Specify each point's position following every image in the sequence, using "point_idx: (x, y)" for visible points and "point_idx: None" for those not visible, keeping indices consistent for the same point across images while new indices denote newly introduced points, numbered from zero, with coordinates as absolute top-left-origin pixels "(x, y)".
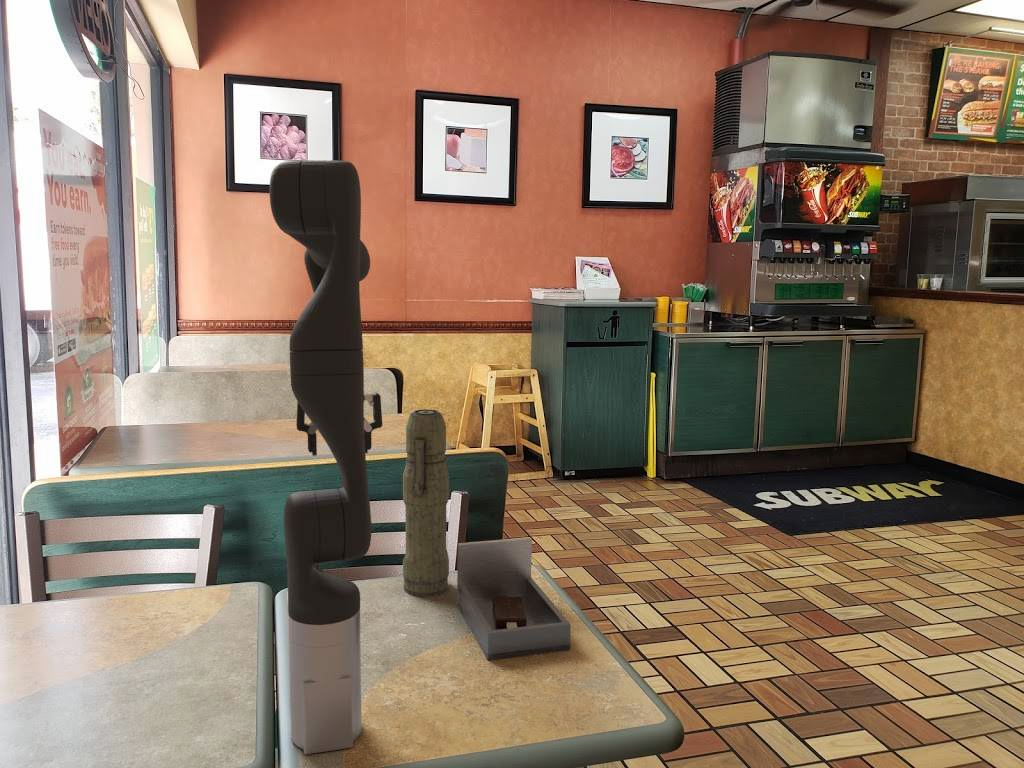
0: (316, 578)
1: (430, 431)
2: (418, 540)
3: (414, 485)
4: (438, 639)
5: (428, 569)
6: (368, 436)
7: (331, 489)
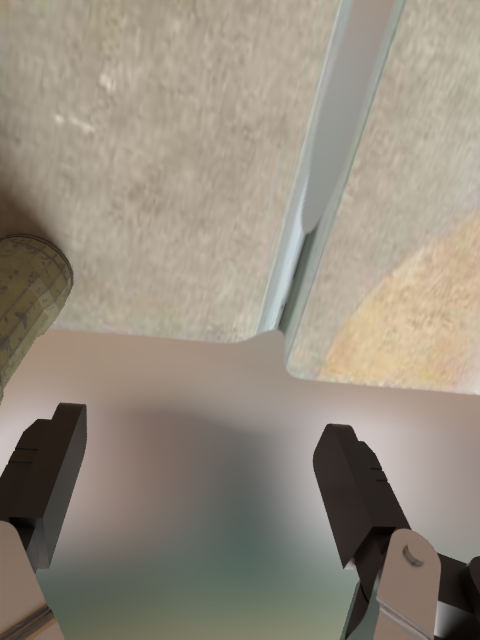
0: None
1: None
2: (4, 296)
3: None
4: (35, 16)
5: (8, 254)
6: (14, 496)
7: None
